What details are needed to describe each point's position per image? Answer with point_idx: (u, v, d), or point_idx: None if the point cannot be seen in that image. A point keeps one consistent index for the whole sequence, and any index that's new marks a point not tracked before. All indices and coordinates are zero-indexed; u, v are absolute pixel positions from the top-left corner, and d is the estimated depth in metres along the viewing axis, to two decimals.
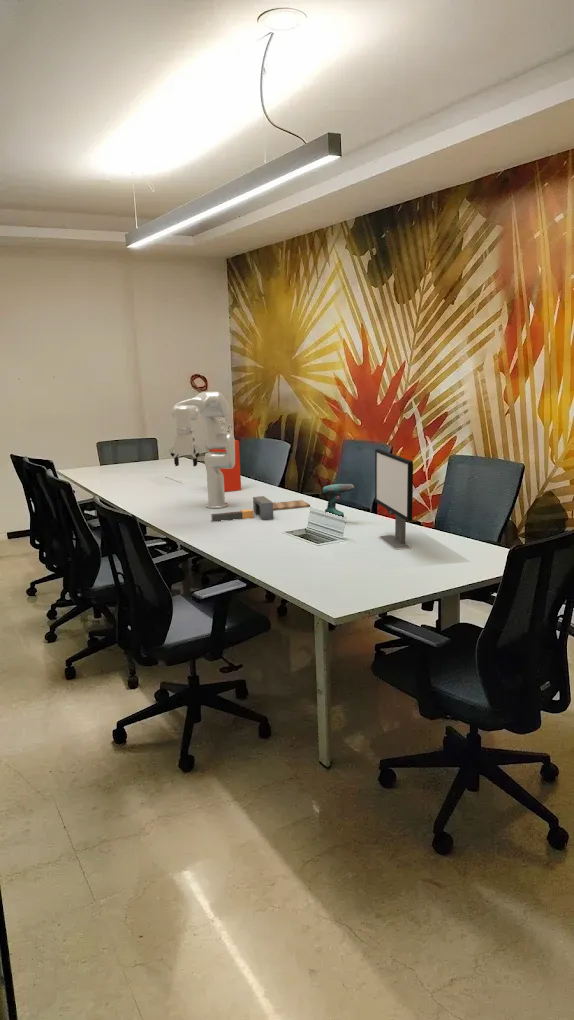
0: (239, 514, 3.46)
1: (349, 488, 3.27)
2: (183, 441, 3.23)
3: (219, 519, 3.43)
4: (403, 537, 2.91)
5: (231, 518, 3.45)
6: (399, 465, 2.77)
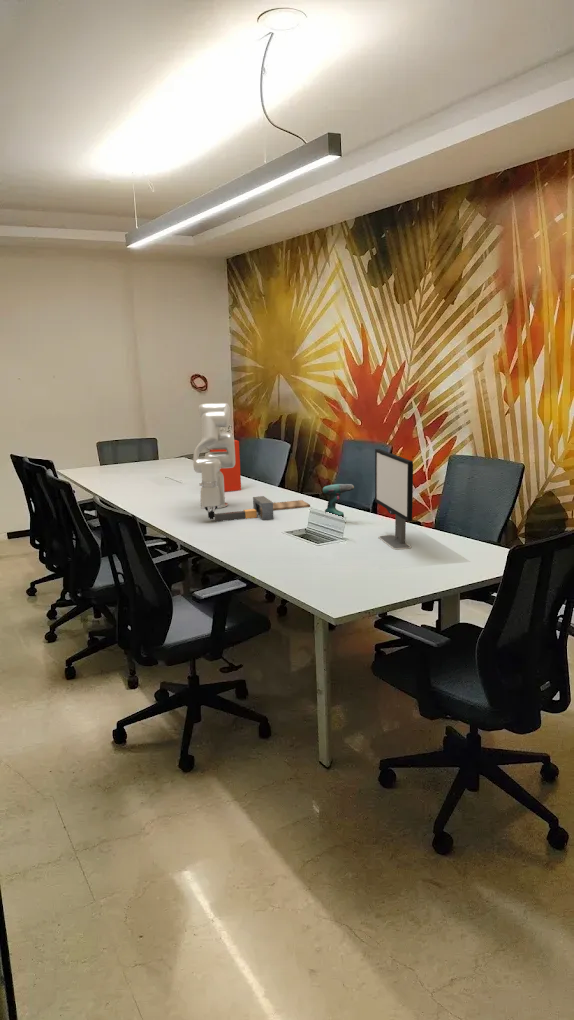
0: (242, 514, 3.46)
1: (349, 488, 3.27)
2: None
3: (222, 519, 3.43)
4: (403, 537, 2.91)
5: (234, 518, 3.45)
6: (399, 465, 2.77)
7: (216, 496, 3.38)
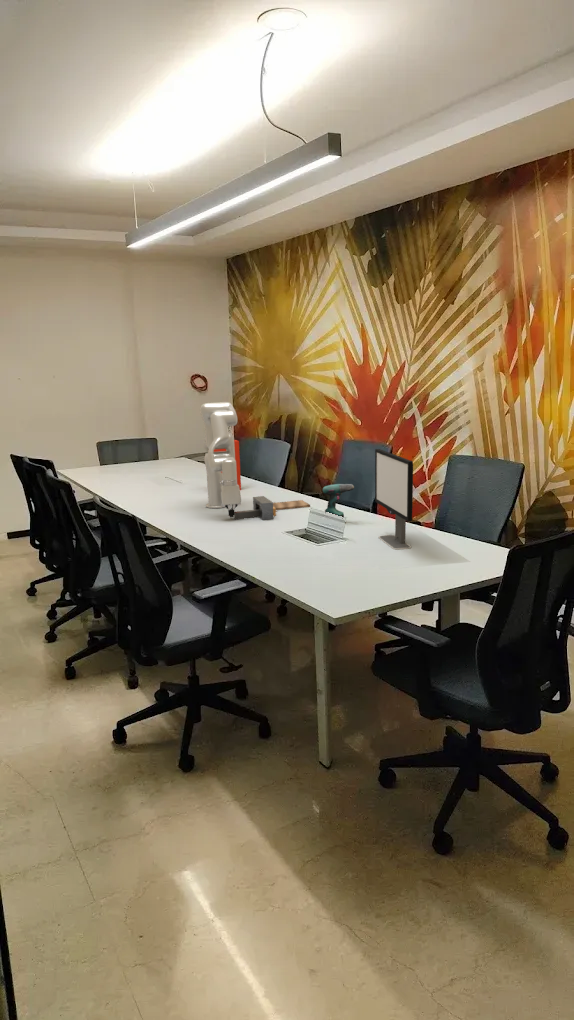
0: None
1: (349, 488, 3.27)
2: None
3: (242, 517, 3.46)
4: (403, 537, 2.91)
5: (254, 515, 3.48)
6: (399, 465, 2.77)
7: (236, 494, 3.42)
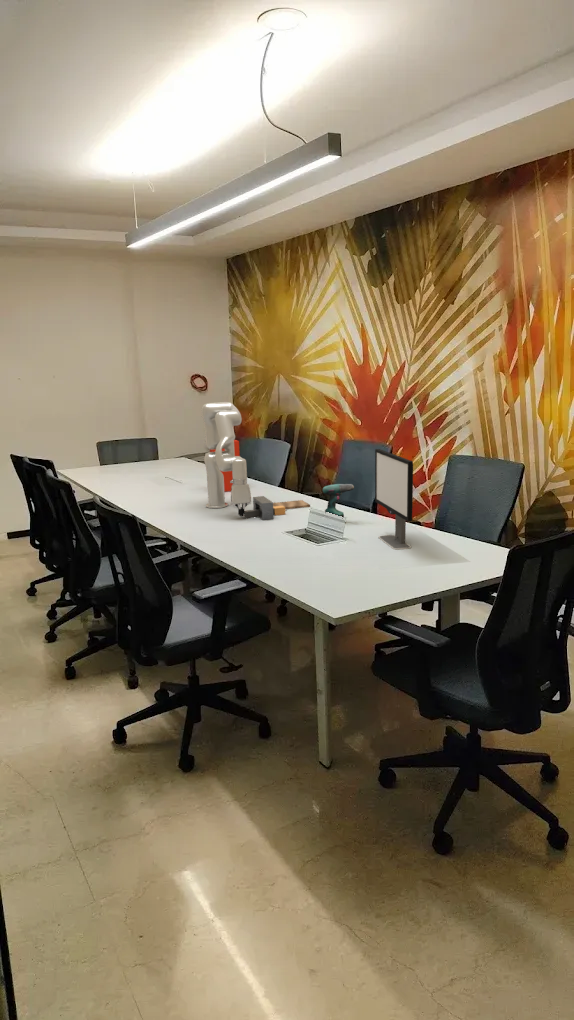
0: None
1: (349, 488, 3.27)
2: None
3: (252, 515, 3.48)
4: (403, 537, 2.91)
5: None
6: (399, 465, 2.77)
7: (246, 493, 3.43)
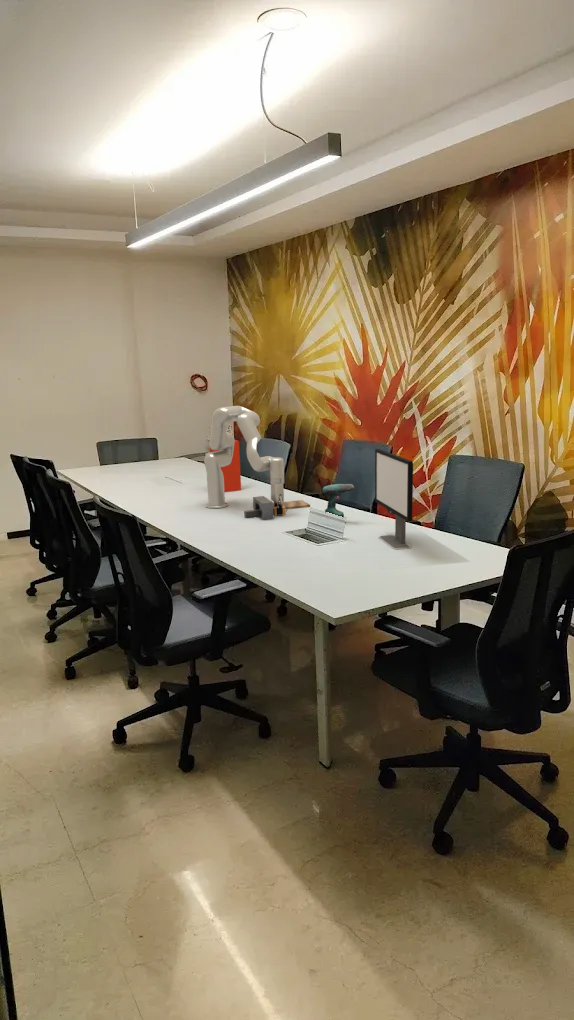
0: None
1: (349, 488, 3.27)
2: None
3: (252, 516, 3.48)
4: (403, 537, 2.91)
5: None
6: (399, 465, 2.77)
7: (274, 493, 3.48)
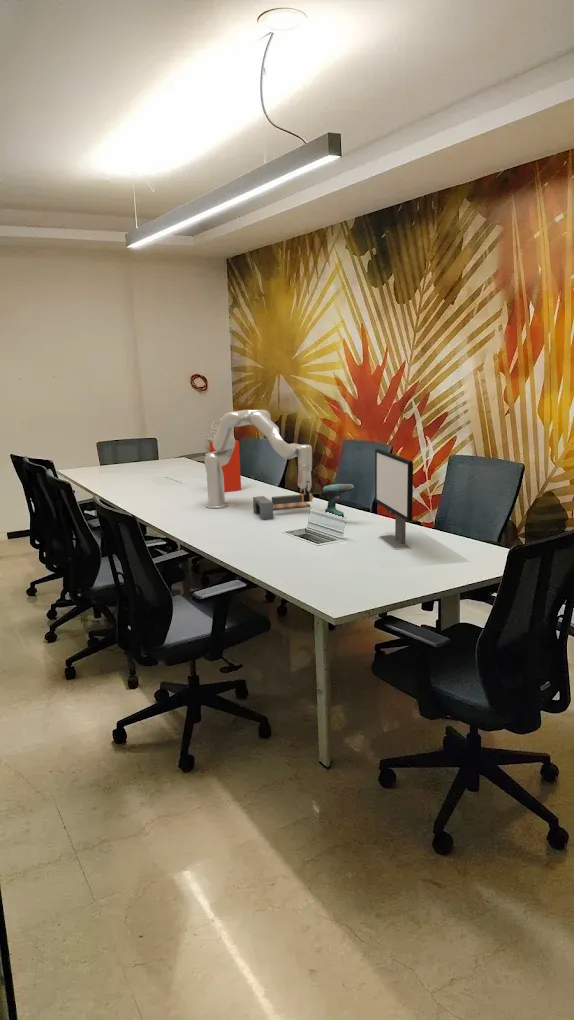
0: (298, 497, 3.54)
1: (349, 488, 3.27)
2: None
3: (279, 502, 3.52)
4: (403, 537, 2.91)
5: (291, 501, 3.54)
6: (399, 465, 2.77)
7: (301, 479, 3.51)
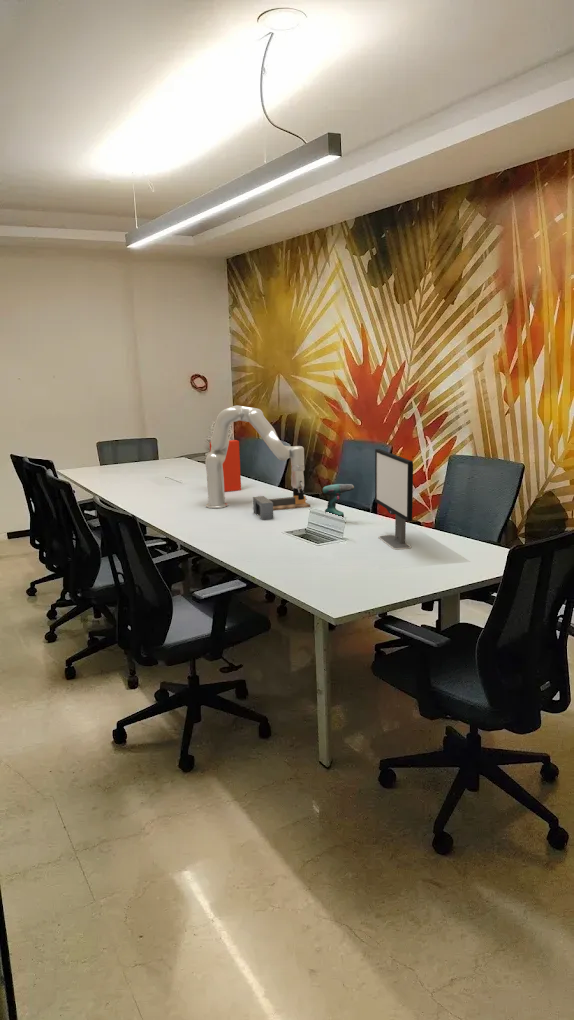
0: (292, 499, 3.72)
1: (349, 488, 3.27)
2: None
3: (274, 504, 3.69)
4: (403, 537, 2.91)
5: (285, 503, 3.71)
6: (399, 465, 2.77)
7: (295, 479, 3.68)
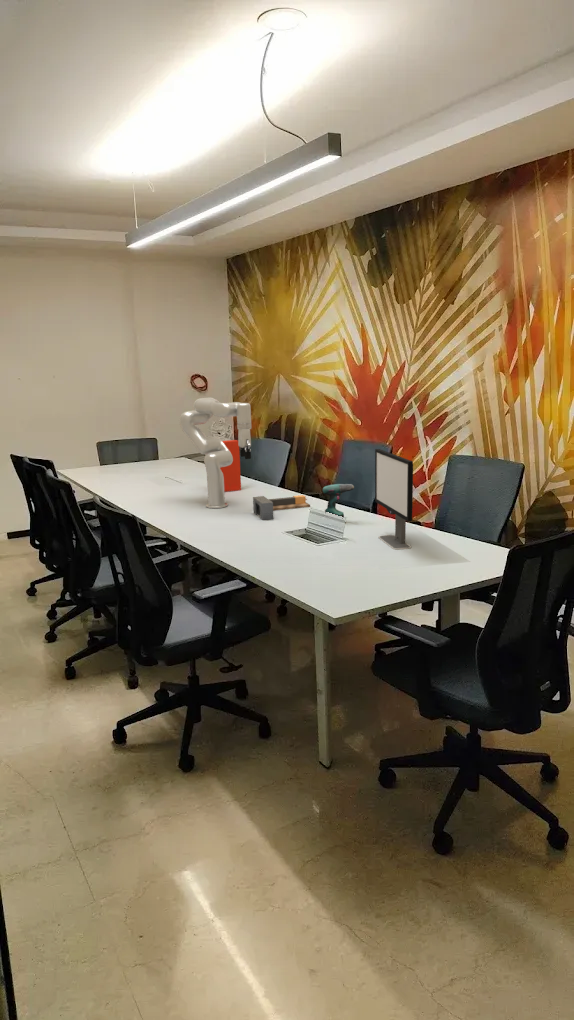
0: (292, 499, 3.72)
1: (349, 488, 3.27)
2: None
3: (274, 504, 3.69)
4: (403, 537, 2.91)
5: (285, 503, 3.71)
6: (399, 465, 2.77)
7: (241, 438, 3.50)
